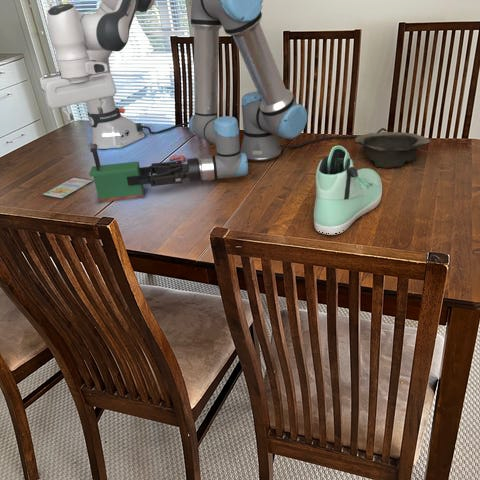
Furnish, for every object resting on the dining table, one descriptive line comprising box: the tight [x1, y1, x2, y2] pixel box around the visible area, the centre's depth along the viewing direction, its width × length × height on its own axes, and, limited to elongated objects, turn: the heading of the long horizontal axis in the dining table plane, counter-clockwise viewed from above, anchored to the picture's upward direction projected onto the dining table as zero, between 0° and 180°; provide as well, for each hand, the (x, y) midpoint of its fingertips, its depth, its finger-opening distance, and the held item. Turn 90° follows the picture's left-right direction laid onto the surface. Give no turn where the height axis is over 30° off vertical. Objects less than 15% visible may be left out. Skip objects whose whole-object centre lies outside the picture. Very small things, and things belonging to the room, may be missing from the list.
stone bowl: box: [354, 131, 431, 169], centre depth 165 cm, size 25×25×9 cm
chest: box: [92, 165, 145, 203], centre depth 155 cm, size 14×6×9 cm, turn 97°
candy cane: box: [169, 154, 186, 163], centre depth 176 cm, size 6×15×2 cm, turn 145°
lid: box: [89, 144, 140, 177], centre depth 150 cm, size 15×6×9 cm, turn 97°
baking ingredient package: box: [42, 177, 92, 199], centre depth 165 cm, size 9×1×15 cm
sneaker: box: [313, 145, 383, 236], centre depth 133 cm, size 14×35×20 cm, turn 152°
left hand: (86, 116), depth 143 cm, fingers open, 8 cm apart
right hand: (128, 177), depth 154 cm, fingers closed on chest, 6 cm apart
